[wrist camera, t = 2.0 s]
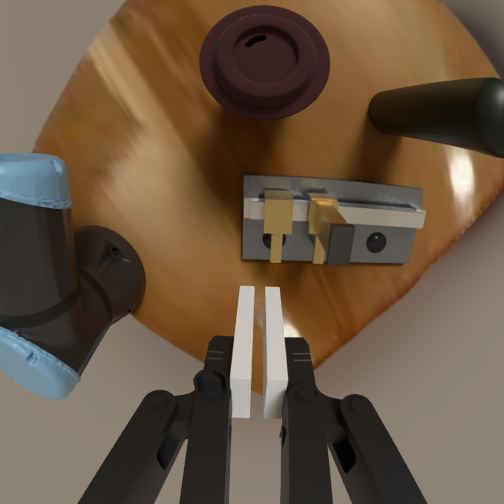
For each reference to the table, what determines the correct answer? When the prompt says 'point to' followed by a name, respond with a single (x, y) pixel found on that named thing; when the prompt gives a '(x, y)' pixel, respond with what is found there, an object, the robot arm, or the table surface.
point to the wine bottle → (445, 113)
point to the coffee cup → (264, 62)
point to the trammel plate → (342, 195)
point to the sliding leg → (329, 231)
